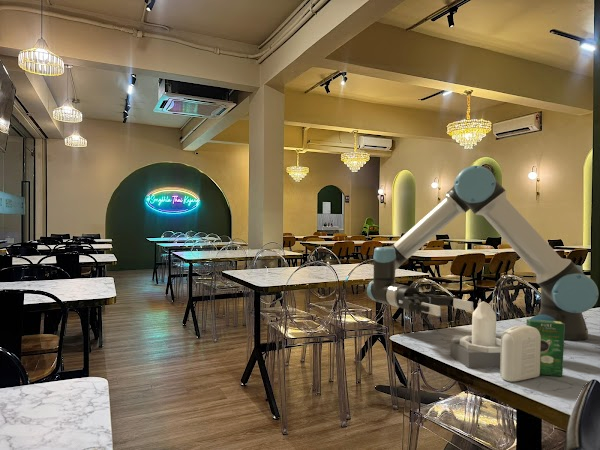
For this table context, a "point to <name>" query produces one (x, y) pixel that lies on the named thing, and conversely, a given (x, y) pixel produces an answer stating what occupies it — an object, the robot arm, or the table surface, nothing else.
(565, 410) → the table surface
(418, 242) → the robot arm
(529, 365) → the photo printer
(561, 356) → the coffee box
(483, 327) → the cream tapered cylinder
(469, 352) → the octagonal hole block
